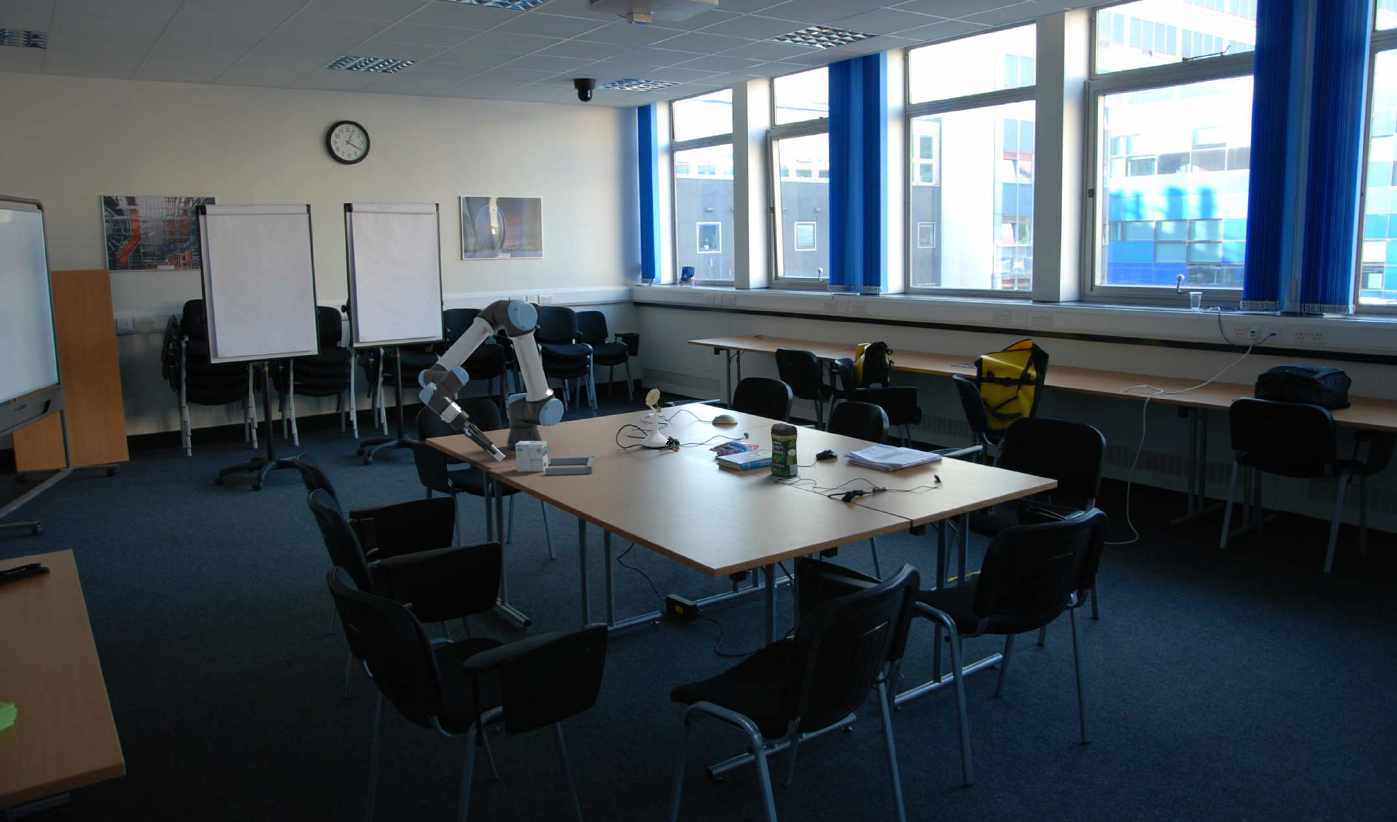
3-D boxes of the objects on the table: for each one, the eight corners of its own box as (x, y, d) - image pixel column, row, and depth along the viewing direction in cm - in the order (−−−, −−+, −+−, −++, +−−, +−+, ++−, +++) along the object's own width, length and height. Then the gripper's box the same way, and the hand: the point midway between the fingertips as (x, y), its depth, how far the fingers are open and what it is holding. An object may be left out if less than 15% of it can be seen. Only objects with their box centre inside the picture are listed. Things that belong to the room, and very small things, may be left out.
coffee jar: (767, 474, 352) (766, 423, 349) (784, 470, 356) (783, 421, 353) (784, 478, 344) (784, 427, 341) (801, 475, 348) (801, 424, 346)
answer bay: (551, 463, 378) (550, 457, 378) (594, 462, 379) (594, 456, 378) (545, 475, 358) (545, 468, 358) (591, 473, 359) (591, 467, 359)
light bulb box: (548, 468, 371) (547, 440, 369) (544, 471, 364) (542, 443, 362) (521, 468, 372) (519, 440, 370) (516, 472, 365) (514, 443, 363)
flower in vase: (639, 445, 412) (637, 386, 408) (665, 443, 415) (663, 385, 411) (646, 450, 400) (644, 390, 396) (673, 448, 403) (671, 389, 399)
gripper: (452, 421, 370) (498, 462, 373) (445, 426, 357) (493, 469, 360) (465, 406, 369) (511, 448, 373) (458, 412, 357) (506, 455, 360)
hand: (502, 458), depth 367 cm, fingers closed
